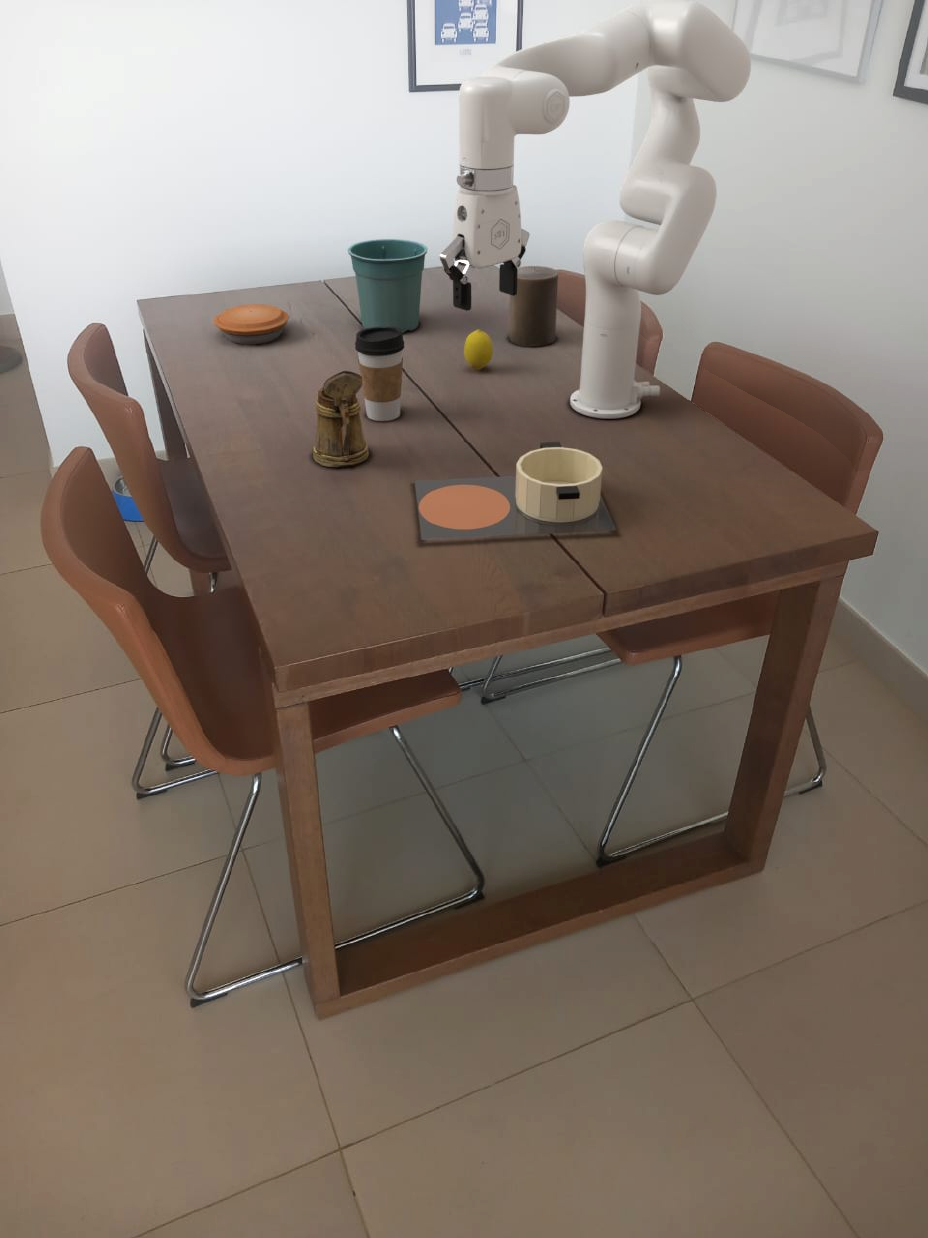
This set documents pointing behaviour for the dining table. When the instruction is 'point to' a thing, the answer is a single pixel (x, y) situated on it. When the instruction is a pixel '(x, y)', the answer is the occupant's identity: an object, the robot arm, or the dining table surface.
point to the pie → (252, 323)
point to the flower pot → (389, 281)
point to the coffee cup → (381, 370)
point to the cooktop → (487, 511)
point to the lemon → (478, 349)
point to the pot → (558, 483)
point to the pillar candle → (534, 307)
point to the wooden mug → (340, 422)
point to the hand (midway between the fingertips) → (485, 300)
